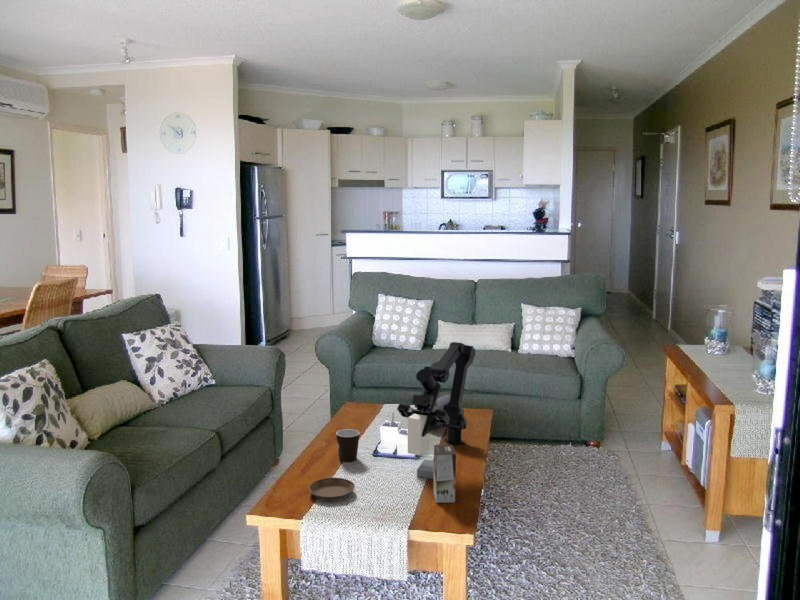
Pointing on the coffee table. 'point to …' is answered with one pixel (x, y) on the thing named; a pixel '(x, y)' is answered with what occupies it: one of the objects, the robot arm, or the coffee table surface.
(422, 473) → the plinth
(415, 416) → the post
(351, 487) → the saucer
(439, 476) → the coffee box
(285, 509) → the coffee table surface
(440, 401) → the bluetooth speaker
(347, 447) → the coffee mug
